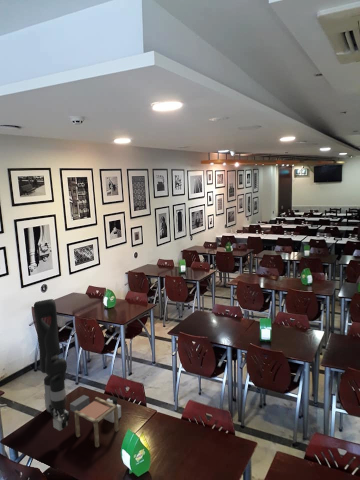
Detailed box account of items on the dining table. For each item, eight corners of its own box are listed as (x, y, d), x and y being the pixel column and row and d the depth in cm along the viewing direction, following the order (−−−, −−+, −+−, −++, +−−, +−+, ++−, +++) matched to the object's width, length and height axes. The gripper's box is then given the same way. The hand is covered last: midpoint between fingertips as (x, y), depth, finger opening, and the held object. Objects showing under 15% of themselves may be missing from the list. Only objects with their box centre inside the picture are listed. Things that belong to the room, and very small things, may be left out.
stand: (76, 436, 195) (74, 411, 193) (98, 420, 208) (96, 396, 206) (97, 447, 186) (95, 421, 184) (118, 430, 199) (117, 405, 197)
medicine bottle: (112, 412, 215) (111, 393, 213) (121, 416, 211) (120, 397, 209) (103, 419, 209) (102, 399, 207) (112, 423, 205) (111, 403, 203)
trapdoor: (68, 411, 199) (68, 404, 198) (85, 400, 209) (85, 393, 208) (94, 423, 188) (94, 416, 187) (110, 411, 198) (110, 404, 197)
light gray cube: (53, 427, 189) (52, 418, 189) (61, 421, 194) (60, 413, 193) (59, 430, 187) (59, 422, 186) (67, 425, 191) (66, 416, 190)
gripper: (43, 395, 188) (45, 424, 191) (61, 404, 180) (63, 435, 183) (55, 388, 194) (57, 416, 197) (73, 397, 186) (75, 426, 189)
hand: (60, 425), depth 190 cm, fingers closed on light gray cube, 5 cm apart
